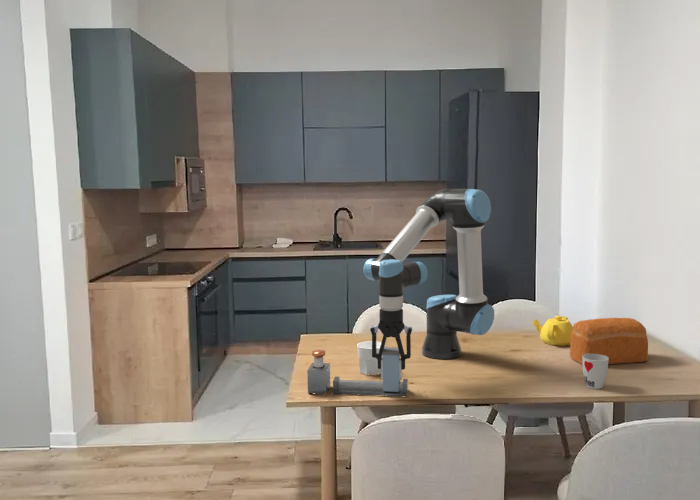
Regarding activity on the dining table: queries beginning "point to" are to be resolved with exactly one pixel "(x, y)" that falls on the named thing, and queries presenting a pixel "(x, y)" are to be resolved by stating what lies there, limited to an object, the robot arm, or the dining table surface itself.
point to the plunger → (318, 358)
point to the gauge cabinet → (319, 379)
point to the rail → (369, 392)
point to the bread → (610, 340)
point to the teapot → (555, 331)
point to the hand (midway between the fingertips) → (391, 378)
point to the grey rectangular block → (391, 369)
